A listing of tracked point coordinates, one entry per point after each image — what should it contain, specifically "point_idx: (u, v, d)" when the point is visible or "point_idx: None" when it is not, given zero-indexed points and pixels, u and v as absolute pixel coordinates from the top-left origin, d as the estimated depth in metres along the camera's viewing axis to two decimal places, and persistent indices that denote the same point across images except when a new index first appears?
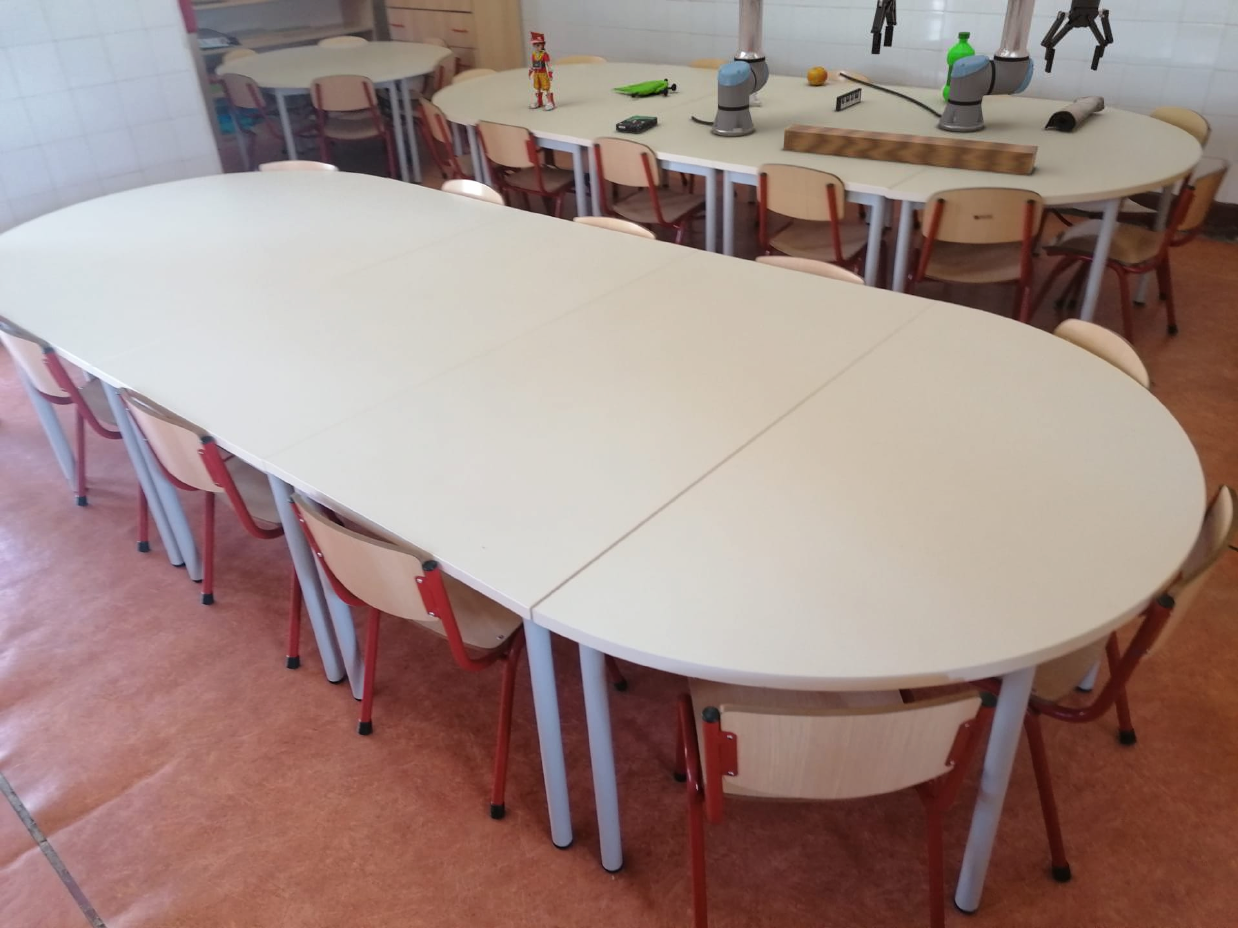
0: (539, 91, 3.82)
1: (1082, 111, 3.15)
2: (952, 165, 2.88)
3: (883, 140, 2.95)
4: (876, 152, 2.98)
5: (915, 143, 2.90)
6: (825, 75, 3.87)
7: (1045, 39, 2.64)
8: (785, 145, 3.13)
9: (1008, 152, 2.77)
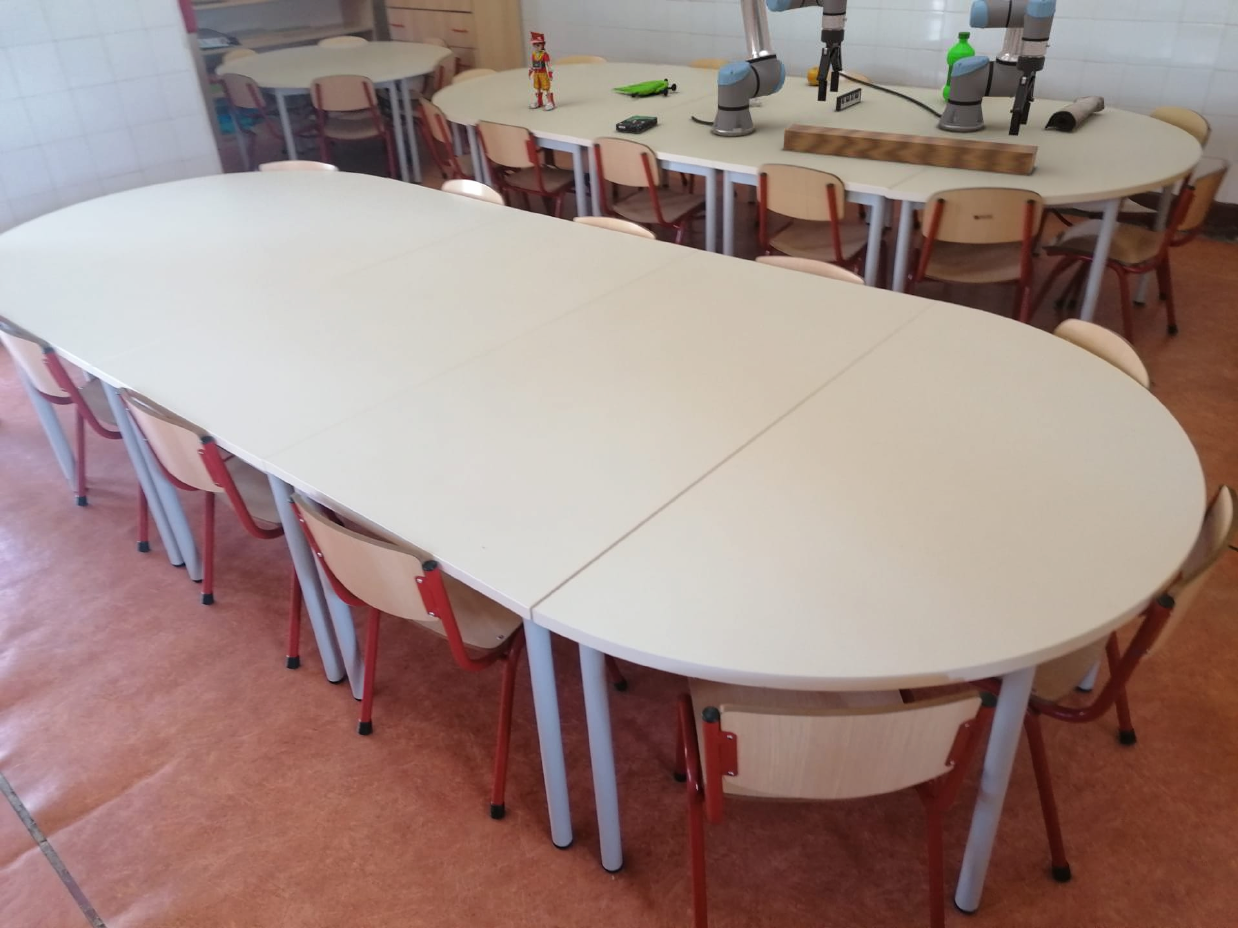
0: (539, 91, 3.82)
1: (1082, 111, 3.15)
2: (952, 165, 2.88)
3: (883, 140, 2.95)
4: (876, 152, 2.98)
5: (915, 143, 2.90)
6: None
7: (1018, 105, 2.65)
8: (785, 145, 3.13)
9: (1008, 152, 2.77)
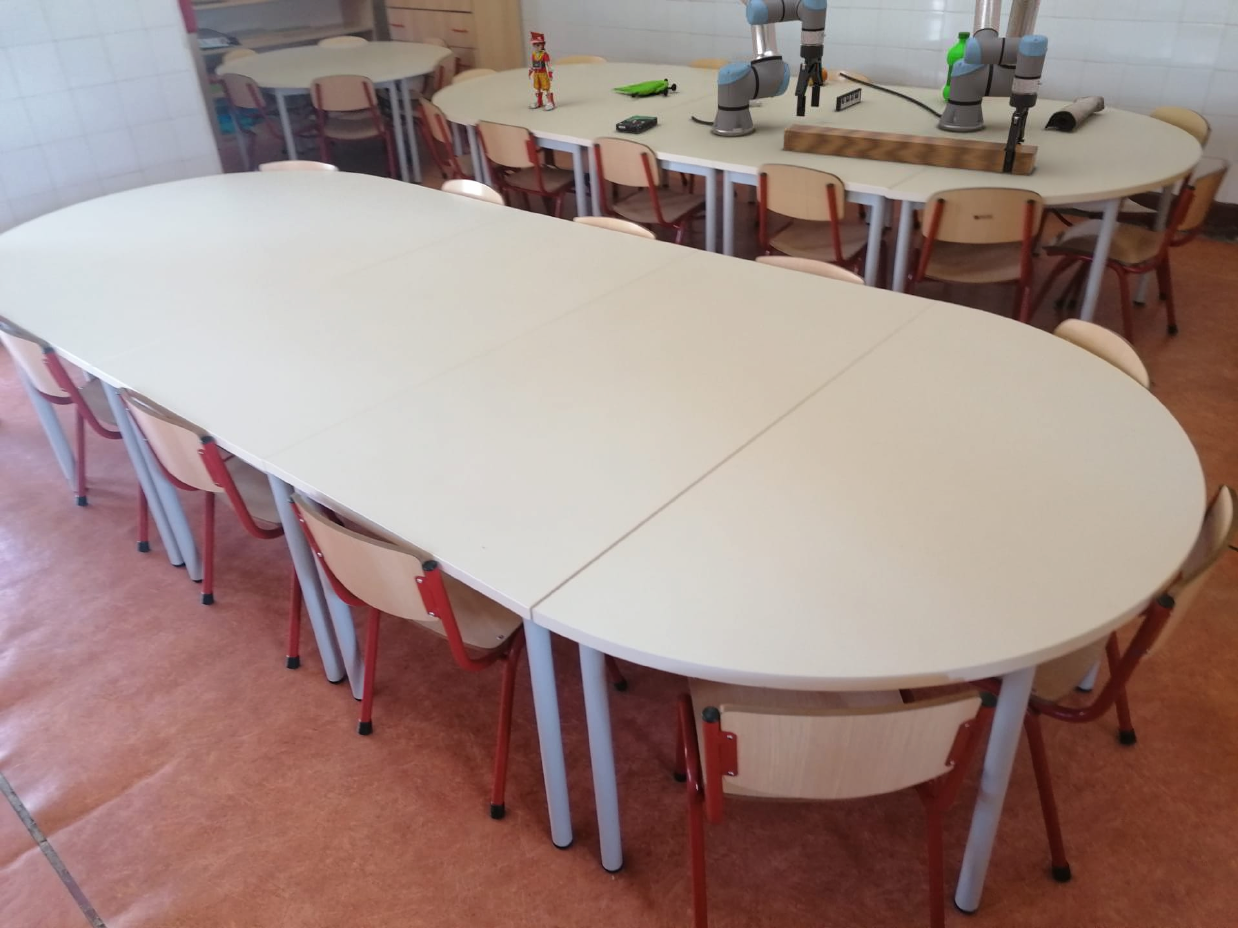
0: (539, 91, 3.82)
1: (1082, 111, 3.15)
2: (952, 165, 2.88)
3: (883, 140, 2.95)
4: (876, 152, 2.98)
5: (915, 143, 2.90)
6: (825, 75, 3.87)
7: (1011, 144, 2.73)
8: (785, 145, 3.13)
9: None
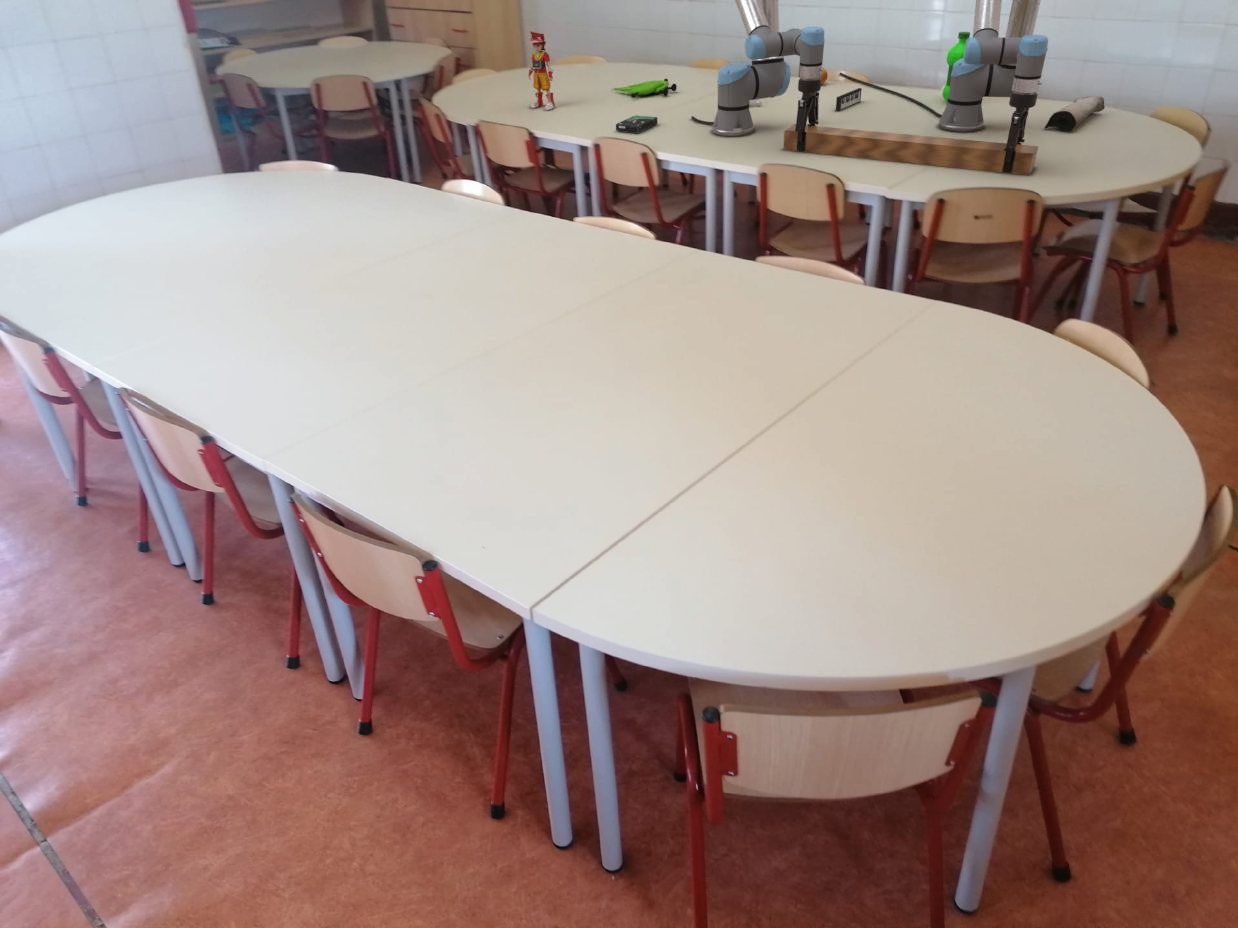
0: (539, 91, 3.82)
1: (1082, 111, 3.15)
2: (952, 165, 2.88)
3: (883, 140, 2.95)
4: (876, 152, 2.98)
5: (915, 143, 2.90)
6: (825, 75, 3.87)
7: (1011, 144, 2.73)
8: (785, 145, 3.13)
9: None
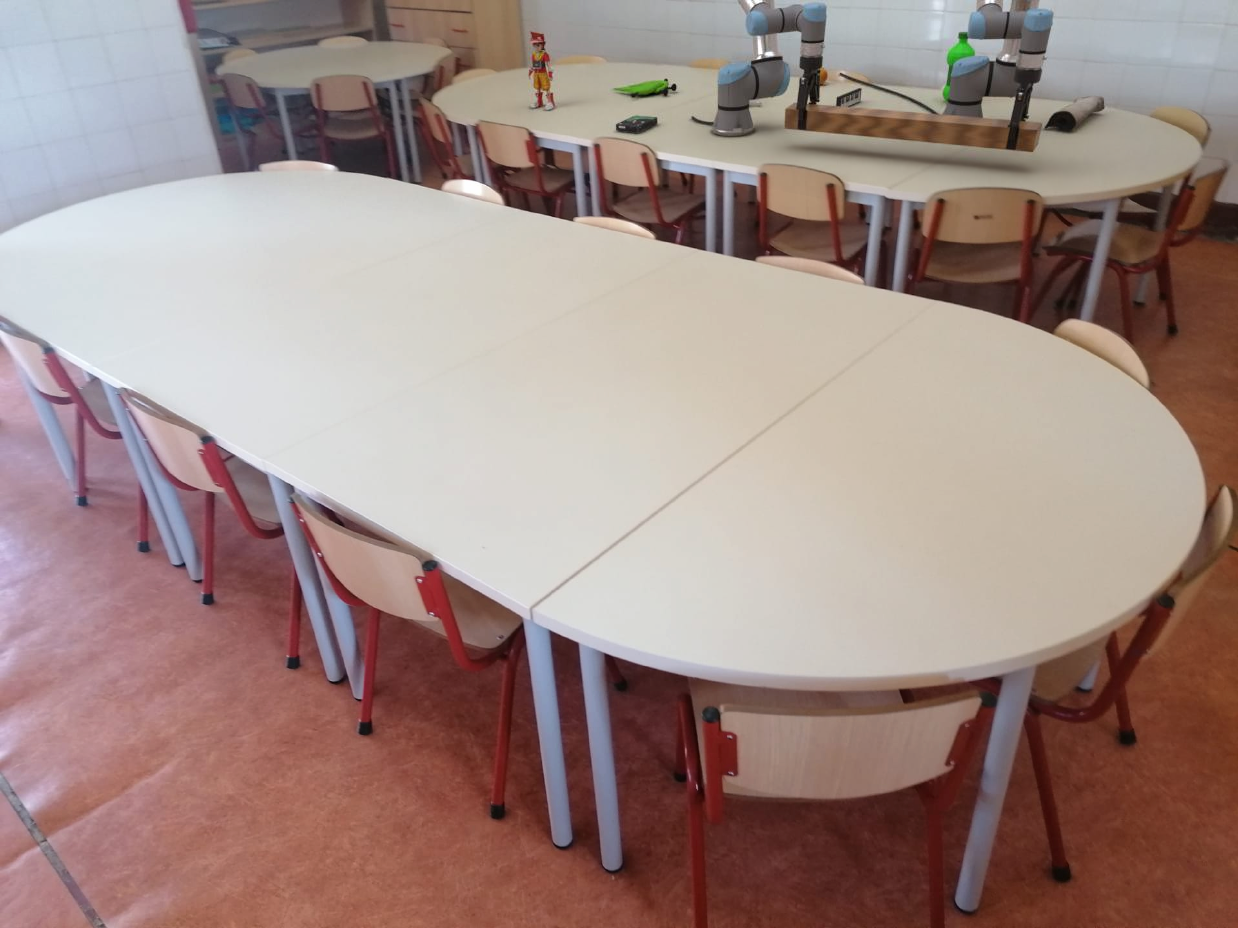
0: (539, 91, 3.82)
1: (1082, 111, 3.15)
2: (955, 142, 2.84)
3: (886, 118, 2.91)
4: (878, 130, 2.94)
5: (917, 121, 2.87)
6: (825, 75, 3.87)
7: (1015, 121, 2.69)
8: (786, 124, 3.09)
9: None
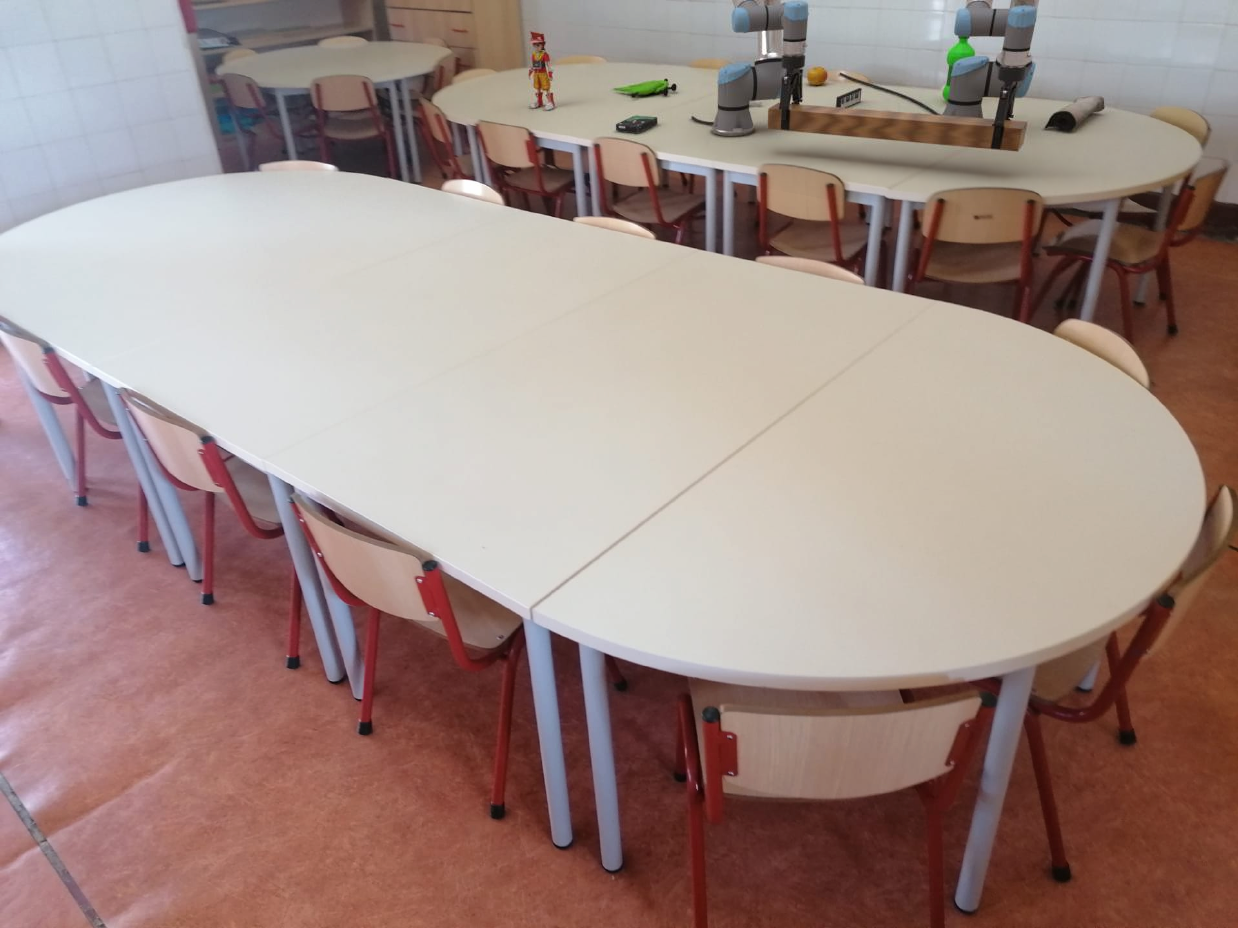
0: (539, 91, 3.82)
1: (1082, 111, 3.15)
2: (940, 142, 2.80)
3: (869, 118, 2.87)
4: (862, 130, 2.90)
5: (901, 120, 2.82)
6: (825, 75, 3.87)
7: (999, 119, 2.65)
8: (769, 124, 3.05)
9: None
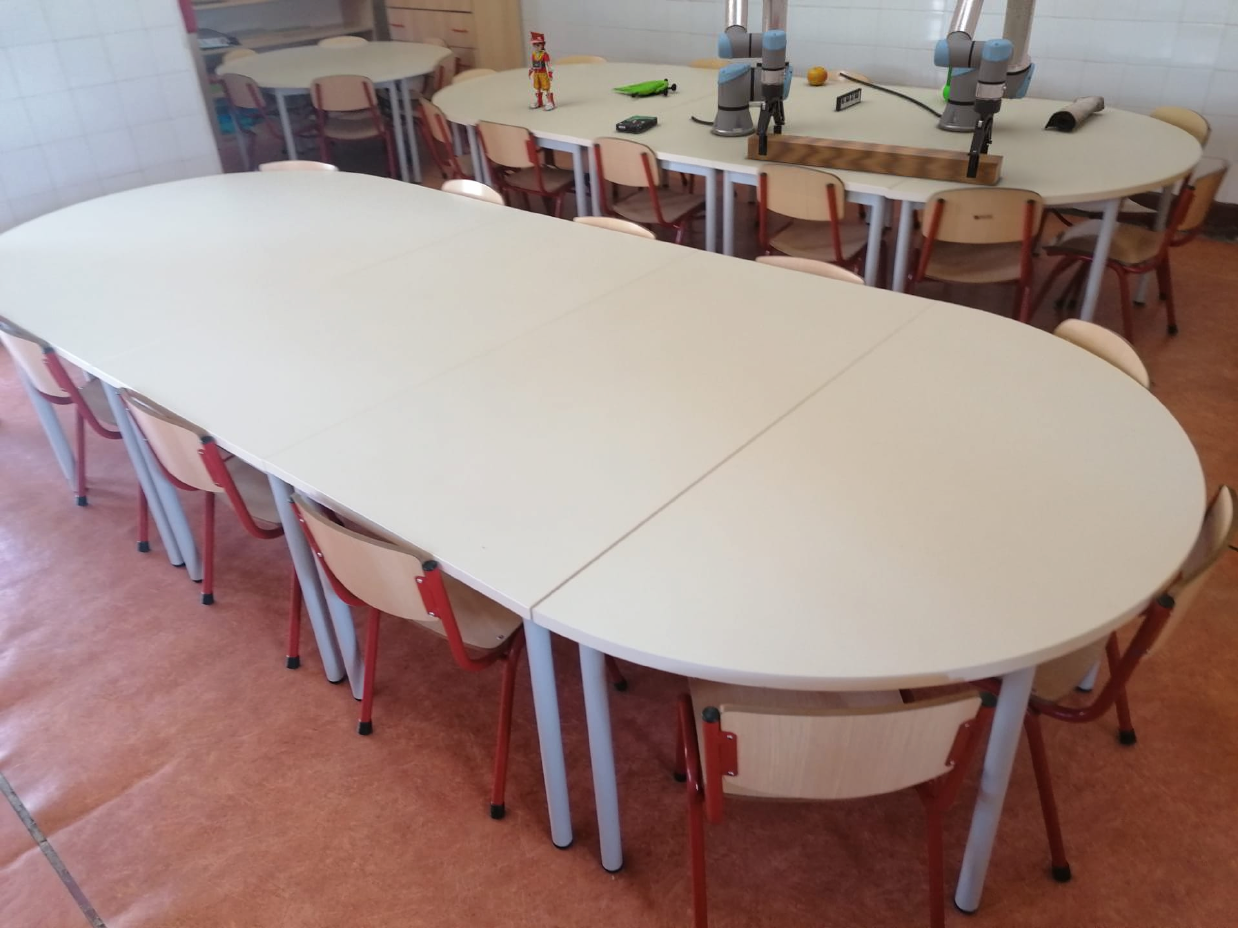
0: (539, 91, 3.82)
1: (1082, 111, 3.15)
2: (917, 174, 2.81)
3: (847, 149, 2.88)
4: (840, 161, 2.92)
5: (878, 152, 2.84)
6: (825, 75, 3.87)
7: (974, 149, 2.64)
8: (749, 153, 3.06)
9: None
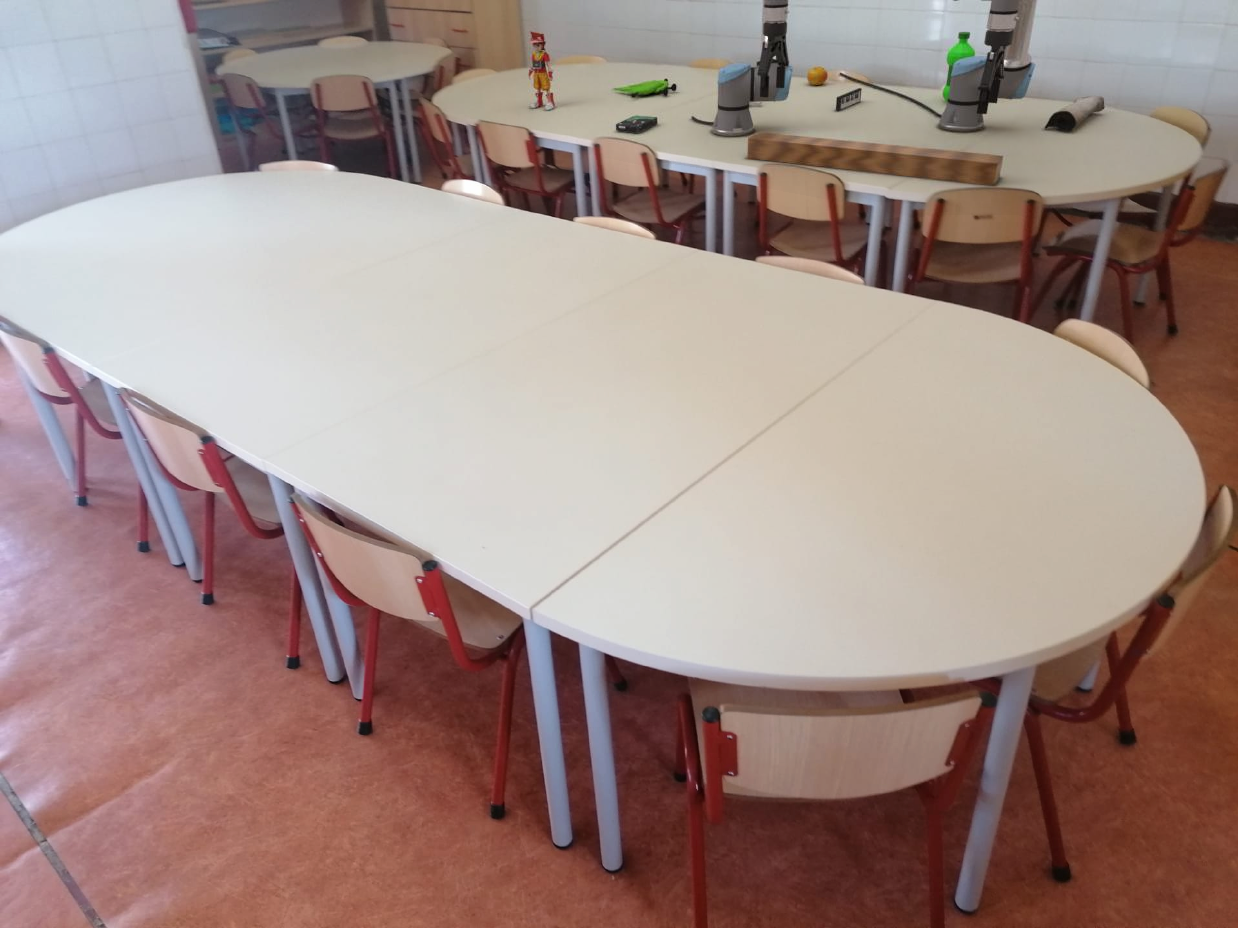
0: (539, 91, 3.82)
1: (1082, 111, 3.15)
2: (917, 174, 2.81)
3: (847, 149, 2.88)
4: (840, 161, 2.92)
5: (878, 152, 2.84)
6: (825, 75, 3.87)
7: (986, 82, 2.53)
8: (749, 153, 3.06)
9: (972, 162, 2.71)
